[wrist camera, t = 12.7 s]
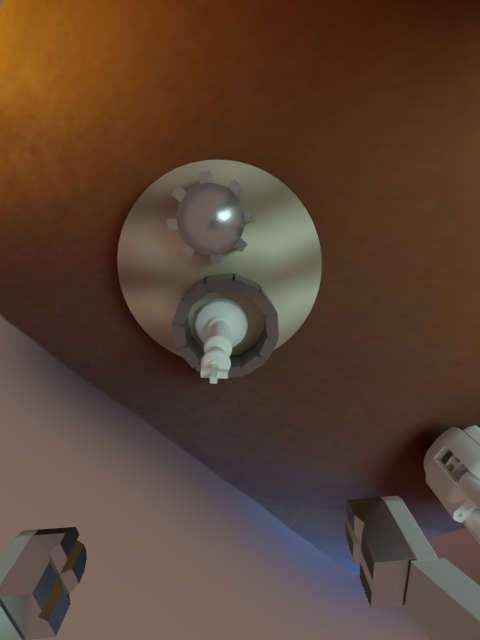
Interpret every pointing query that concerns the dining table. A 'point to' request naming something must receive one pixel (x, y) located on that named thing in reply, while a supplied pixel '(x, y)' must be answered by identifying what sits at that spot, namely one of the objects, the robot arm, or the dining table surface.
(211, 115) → the dining table surface
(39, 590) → the robot arm
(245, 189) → the carrier plate
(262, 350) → the socket collar
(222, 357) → the chess piece
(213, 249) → the sun gear
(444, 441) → the mechanical part
